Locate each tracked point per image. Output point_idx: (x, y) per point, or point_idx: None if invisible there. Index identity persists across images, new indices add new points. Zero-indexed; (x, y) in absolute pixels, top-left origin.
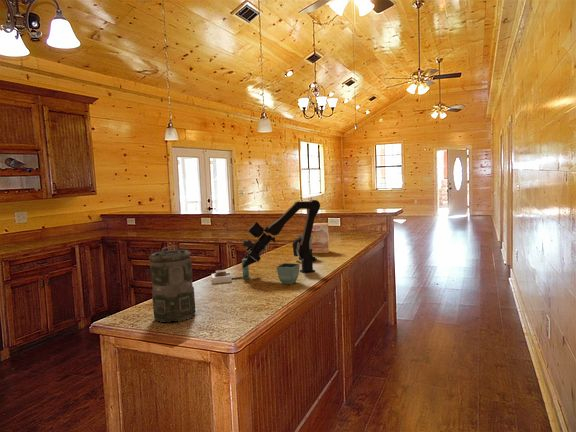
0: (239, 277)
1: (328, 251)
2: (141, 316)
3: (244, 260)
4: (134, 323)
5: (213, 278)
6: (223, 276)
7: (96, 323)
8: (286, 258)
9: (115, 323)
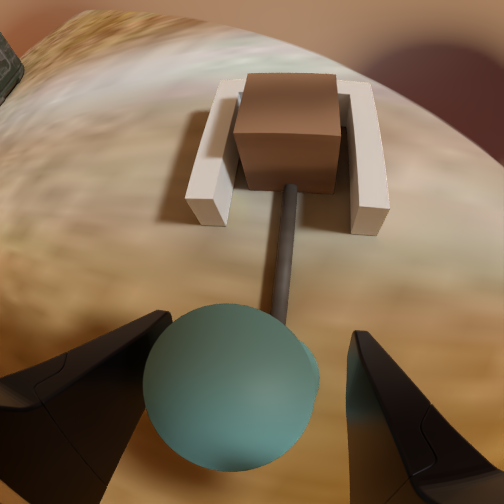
0: (271, 306)
1: None
2: (49, 45)
3: (155, 357)
4: (30, 53)
5: (220, 89)
6: (210, 139)
7: (80, 12)
8: None
9: (55, 31)
